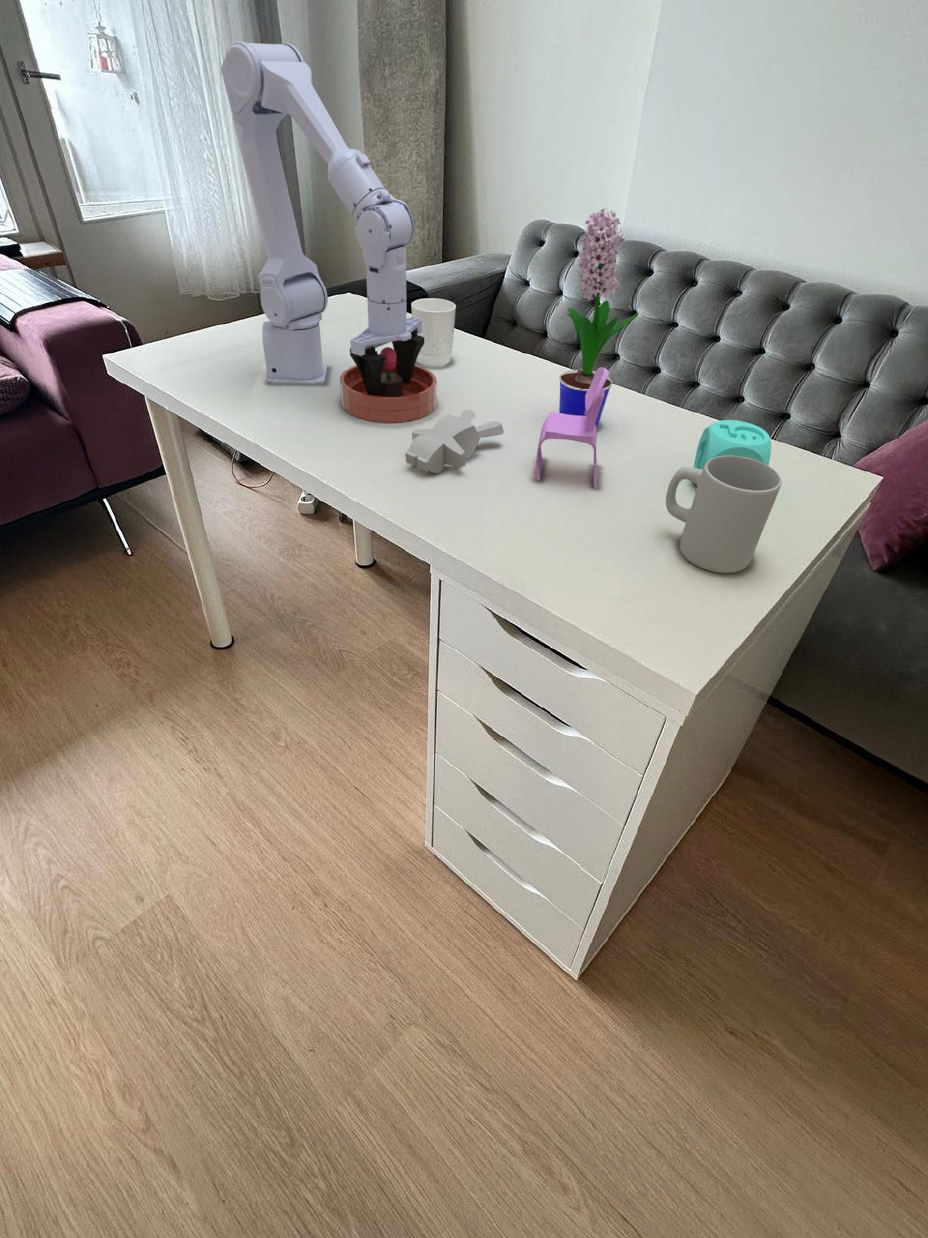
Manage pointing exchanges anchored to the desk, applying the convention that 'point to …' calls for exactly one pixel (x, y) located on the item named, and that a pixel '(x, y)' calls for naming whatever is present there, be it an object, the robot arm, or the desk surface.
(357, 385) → the bowl
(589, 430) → the toy chair
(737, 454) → the decorative dice
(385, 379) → the tulip
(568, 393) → the hyacinth
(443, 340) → the white cup
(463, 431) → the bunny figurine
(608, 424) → the desk surface
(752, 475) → the mug
